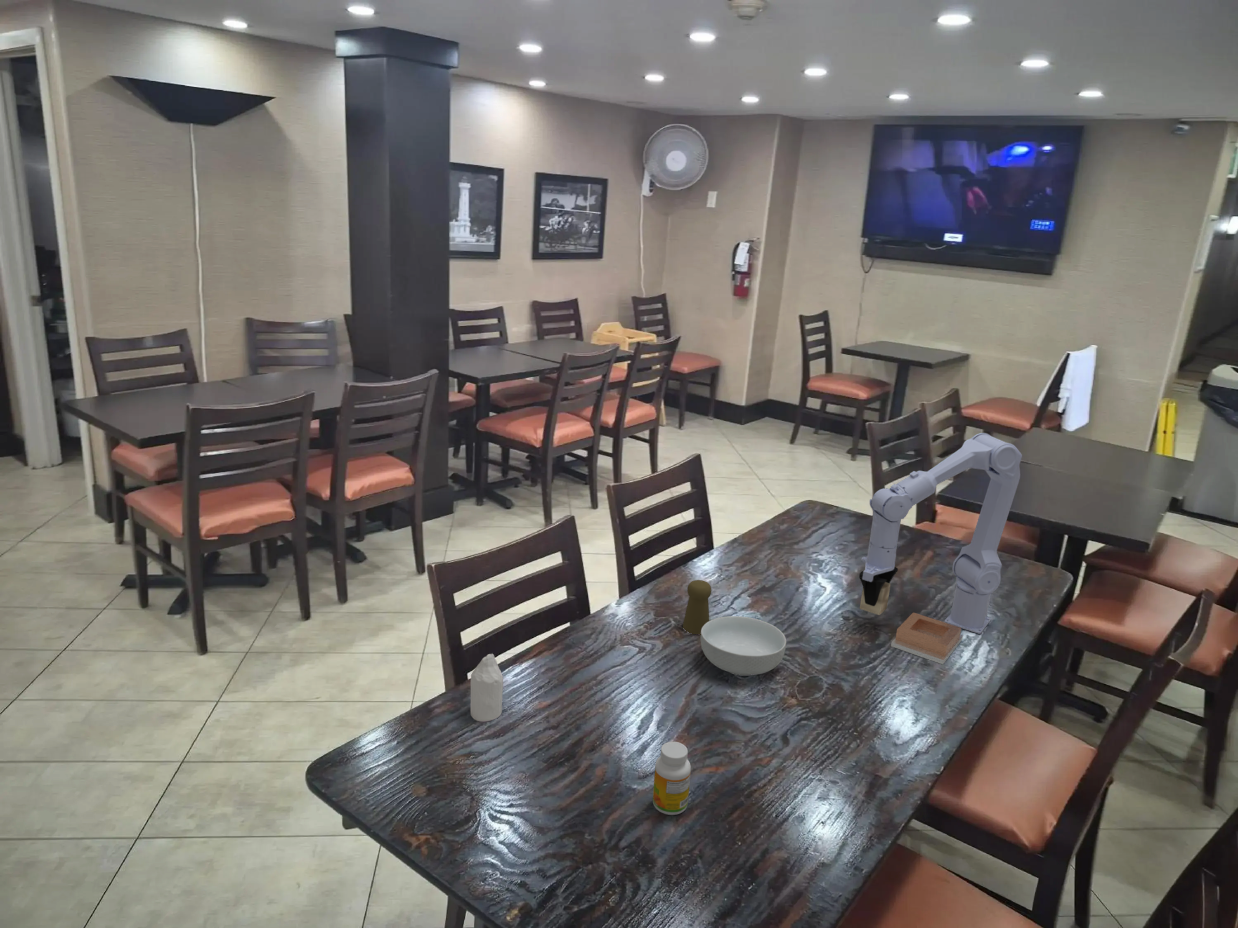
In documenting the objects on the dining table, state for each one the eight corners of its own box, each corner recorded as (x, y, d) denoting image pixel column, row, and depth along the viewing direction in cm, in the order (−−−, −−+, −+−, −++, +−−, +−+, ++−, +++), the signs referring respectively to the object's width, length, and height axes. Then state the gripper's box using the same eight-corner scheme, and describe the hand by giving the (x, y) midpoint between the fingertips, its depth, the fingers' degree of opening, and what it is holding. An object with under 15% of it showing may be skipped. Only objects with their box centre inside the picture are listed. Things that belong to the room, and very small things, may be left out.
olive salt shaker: (708, 636, 174) (712, 590, 171) (680, 632, 175) (684, 586, 172) (711, 623, 180) (715, 578, 177) (684, 620, 181) (687, 575, 178)
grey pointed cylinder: (481, 641, 144) (509, 648, 142) (481, 699, 147) (508, 707, 146) (463, 656, 139) (492, 664, 137) (464, 717, 142) (492, 725, 140)
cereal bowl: (791, 657, 167) (795, 627, 165) (770, 697, 153) (774, 664, 151) (713, 637, 174) (716, 607, 172) (686, 673, 160) (689, 641, 157)
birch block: (867, 601, 183) (870, 577, 181) (886, 608, 181) (890, 583, 179) (859, 608, 180) (863, 583, 178) (879, 615, 177) (883, 590, 175)
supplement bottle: (650, 791, 126) (654, 738, 123) (684, 791, 126) (689, 737, 124) (654, 816, 121) (658, 761, 118) (690, 815, 121) (695, 760, 118)
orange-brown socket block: (912, 623, 185) (914, 609, 184) (962, 639, 178) (964, 625, 177) (890, 646, 174) (893, 631, 173) (942, 664, 168) (945, 649, 167)
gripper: (877, 530, 183) (869, 584, 187) (852, 548, 172) (844, 605, 176) (908, 538, 179) (899, 593, 183) (884, 557, 168) (875, 616, 172)
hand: (874, 600), depth 180 cm, fingers closed on birch block, 4 cm apart
